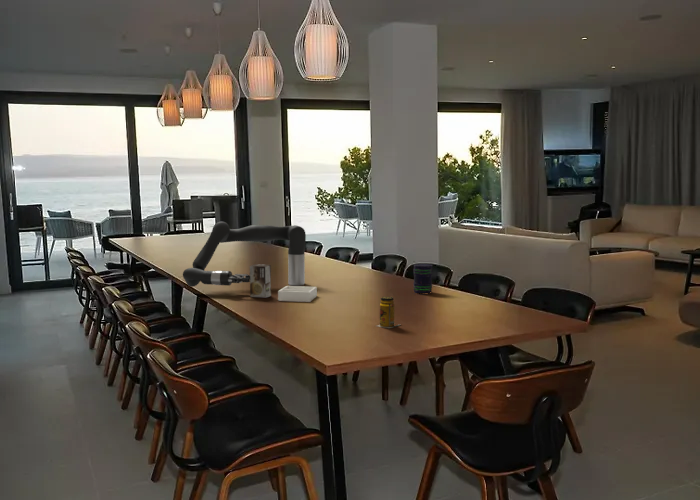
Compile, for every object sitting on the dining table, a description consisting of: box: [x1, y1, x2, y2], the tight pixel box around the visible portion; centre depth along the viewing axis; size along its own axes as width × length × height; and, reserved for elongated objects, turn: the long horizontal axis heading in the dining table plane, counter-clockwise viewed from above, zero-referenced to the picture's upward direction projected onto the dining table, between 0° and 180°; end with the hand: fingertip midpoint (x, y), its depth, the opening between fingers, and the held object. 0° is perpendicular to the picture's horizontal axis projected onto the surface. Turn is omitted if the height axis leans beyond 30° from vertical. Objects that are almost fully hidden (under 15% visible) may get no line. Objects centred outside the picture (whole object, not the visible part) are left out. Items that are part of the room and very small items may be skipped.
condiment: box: [376, 296, 400, 329], centre depth 271 cm, size 7×8×12 cm
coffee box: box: [249, 263, 272, 298], centre depth 334 cm, size 9×6×16 cm
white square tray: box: [277, 285, 318, 303], centre depth 330 cm, size 16×16×5 cm
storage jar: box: [412, 263, 433, 294], centre depth 347 cm, size 10×10×15 cm
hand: (252, 278), depth 335 cm, fingers open, 8 cm apart
